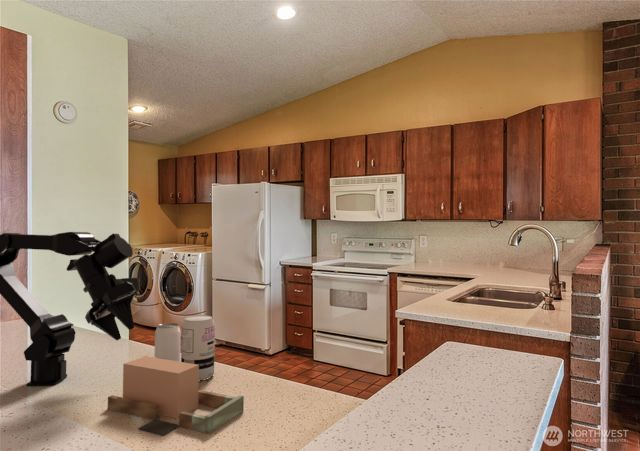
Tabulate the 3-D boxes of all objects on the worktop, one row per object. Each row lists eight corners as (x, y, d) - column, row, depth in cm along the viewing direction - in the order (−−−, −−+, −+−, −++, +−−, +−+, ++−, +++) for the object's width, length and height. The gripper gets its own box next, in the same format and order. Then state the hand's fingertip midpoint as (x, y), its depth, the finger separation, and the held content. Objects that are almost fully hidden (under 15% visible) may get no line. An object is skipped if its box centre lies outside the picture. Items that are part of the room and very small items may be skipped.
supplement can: (185, 372, 110) (185, 315, 110) (216, 371, 110) (217, 314, 111) (177, 382, 101) (178, 321, 102) (211, 382, 102) (212, 321, 103)
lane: (90, 416, 82) (90, 401, 82) (161, 385, 100) (162, 372, 100) (194, 443, 72) (194, 426, 72) (254, 403, 89) (254, 389, 89)
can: (171, 375, 107) (172, 328, 107) (149, 373, 108) (149, 327, 109) (184, 367, 113) (185, 323, 114) (163, 365, 115) (163, 322, 115)
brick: (122, 406, 88) (123, 363, 88) (144, 396, 93) (145, 356, 93) (177, 419, 82) (178, 373, 82) (198, 407, 87) (198, 364, 87)
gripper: (140, 252, 101) (170, 308, 100) (115, 279, 113) (141, 330, 112) (94, 267, 93) (126, 329, 91) (72, 295, 104) (100, 350, 103)
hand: (125, 334), depth 99 cm, fingers open, 9 cm apart
